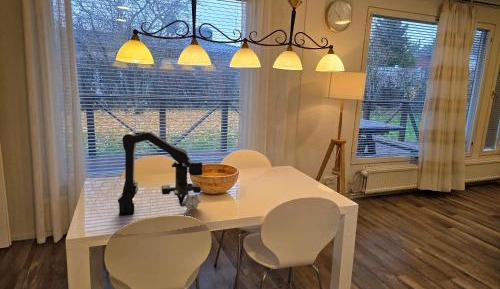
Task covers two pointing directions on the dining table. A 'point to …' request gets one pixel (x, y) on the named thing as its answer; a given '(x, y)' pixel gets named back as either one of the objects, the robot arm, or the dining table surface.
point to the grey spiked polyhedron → (191, 201)
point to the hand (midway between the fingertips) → (180, 205)
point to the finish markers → (187, 212)
